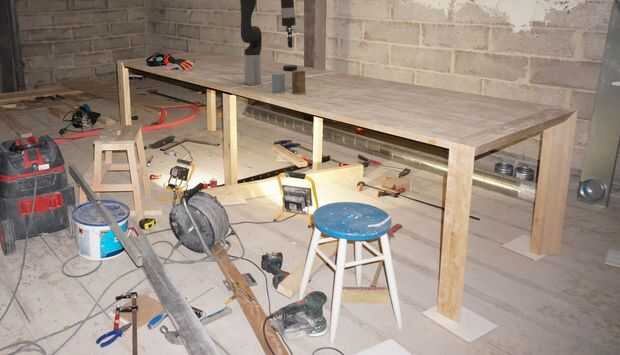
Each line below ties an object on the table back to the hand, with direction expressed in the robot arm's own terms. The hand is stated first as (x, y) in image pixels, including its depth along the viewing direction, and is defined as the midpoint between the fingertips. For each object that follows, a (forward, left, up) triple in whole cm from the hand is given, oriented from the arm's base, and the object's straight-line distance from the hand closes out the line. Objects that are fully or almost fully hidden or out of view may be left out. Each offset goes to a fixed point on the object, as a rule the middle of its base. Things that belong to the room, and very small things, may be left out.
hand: (290, 47), depth 308 cm
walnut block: (+14, -6, -23) cm, 28 cm away
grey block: (+3, -11, -23) cm, 26 cm away
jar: (-4, +4, -23) cm, 24 cm away
